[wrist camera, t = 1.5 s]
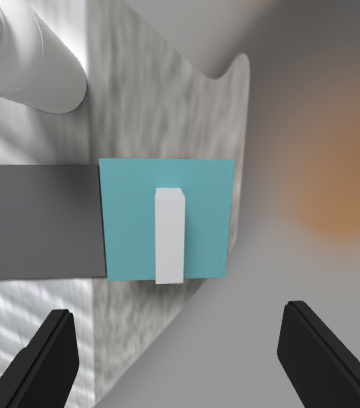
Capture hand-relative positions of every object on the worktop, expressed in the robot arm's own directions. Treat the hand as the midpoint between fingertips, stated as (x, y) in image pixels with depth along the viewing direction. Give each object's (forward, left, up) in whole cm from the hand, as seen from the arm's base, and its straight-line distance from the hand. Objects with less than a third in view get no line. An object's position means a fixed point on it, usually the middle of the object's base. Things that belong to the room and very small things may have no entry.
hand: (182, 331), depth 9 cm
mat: (-3, +18, -23) cm, 30 cm away
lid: (0, 0, -17) cm, 17 cm away
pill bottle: (+16, +14, -24) cm, 32 cm away
